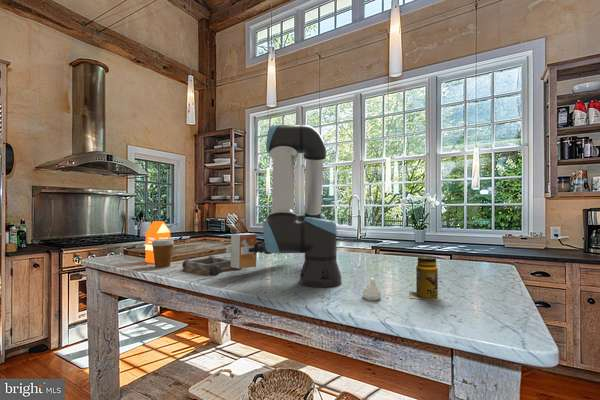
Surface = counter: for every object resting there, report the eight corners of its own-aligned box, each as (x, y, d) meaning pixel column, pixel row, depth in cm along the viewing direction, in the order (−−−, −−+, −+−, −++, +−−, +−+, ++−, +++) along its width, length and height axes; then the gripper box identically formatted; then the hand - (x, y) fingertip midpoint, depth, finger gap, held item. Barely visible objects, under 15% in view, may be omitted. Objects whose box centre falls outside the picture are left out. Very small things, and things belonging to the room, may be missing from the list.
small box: (239, 269, 116) (239, 234, 117) (230, 267, 121) (230, 233, 121) (256, 266, 122) (256, 233, 122) (247, 264, 126) (247, 232, 127)
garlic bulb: (383, 280, 90) (365, 280, 90) (383, 300, 90) (365, 301, 90) (377, 275, 96) (360, 276, 95) (377, 295, 95) (360, 295, 95)
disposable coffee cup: (168, 268, 135) (168, 241, 136) (146, 268, 135) (147, 241, 136) (177, 264, 145) (177, 239, 145) (157, 264, 145) (157, 239, 145)
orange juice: (156, 263, 147) (156, 221, 148) (145, 261, 152) (145, 221, 152) (170, 261, 154) (170, 221, 154) (159, 259, 159) (159, 220, 159)
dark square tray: (245, 268, 136) (245, 259, 136) (211, 276, 120) (211, 266, 121) (215, 263, 147) (215, 255, 148) (180, 270, 132) (180, 260, 132)
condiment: (440, 301, 89) (440, 260, 90) (409, 298, 92) (409, 258, 92) (437, 294, 96) (437, 256, 97) (408, 292, 99) (408, 254, 99)
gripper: (290, 255, 131) (253, 262, 112) (255, 251, 142) (216, 257, 123) (290, 237, 131) (253, 242, 112) (255, 235, 142) (216, 239, 123)
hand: (234, 250), depth 118 cm, fingers closed on small box, 7 cm apart
